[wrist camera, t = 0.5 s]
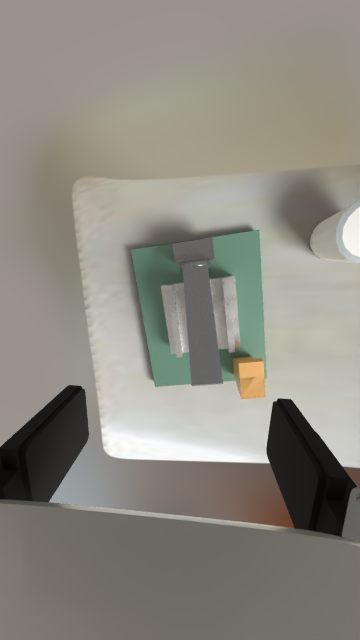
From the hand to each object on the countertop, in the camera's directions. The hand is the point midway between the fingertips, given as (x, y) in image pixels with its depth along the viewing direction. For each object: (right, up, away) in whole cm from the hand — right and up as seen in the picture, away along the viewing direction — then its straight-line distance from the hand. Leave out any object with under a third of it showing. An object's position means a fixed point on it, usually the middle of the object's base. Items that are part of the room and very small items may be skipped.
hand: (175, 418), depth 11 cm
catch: (+10, -1, +23) cm, 25 cm away
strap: (+2, +5, +14) cm, 15 cm away
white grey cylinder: (+21, +16, +19) cm, 33 cm away
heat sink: (+3, +8, +21) cm, 23 cm away
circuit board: (+4, +6, +23) cm, 24 cm away
